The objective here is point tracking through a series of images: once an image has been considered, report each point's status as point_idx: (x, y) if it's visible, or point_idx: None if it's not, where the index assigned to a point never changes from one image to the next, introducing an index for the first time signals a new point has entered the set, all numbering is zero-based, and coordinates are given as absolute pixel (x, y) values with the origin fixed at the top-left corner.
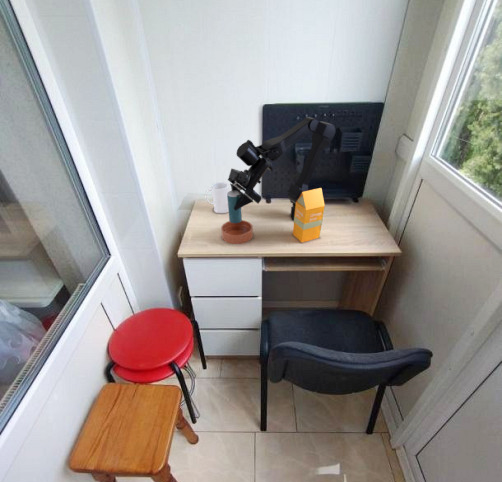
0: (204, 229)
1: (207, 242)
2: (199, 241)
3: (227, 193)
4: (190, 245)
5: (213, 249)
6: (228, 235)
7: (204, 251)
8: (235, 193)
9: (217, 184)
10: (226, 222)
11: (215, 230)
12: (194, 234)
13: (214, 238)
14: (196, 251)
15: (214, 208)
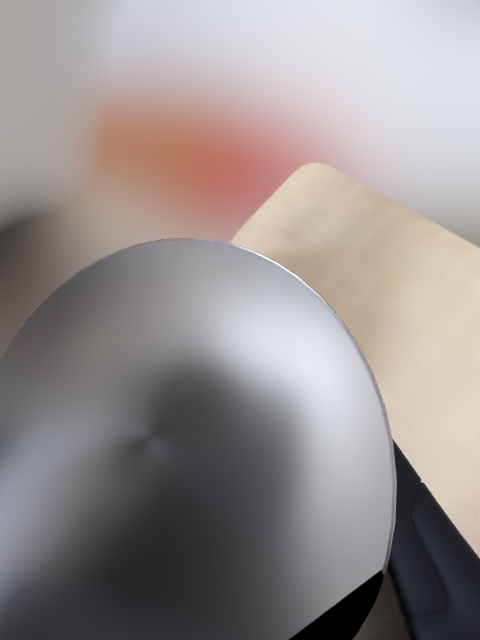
0: (432, 300)
1: (308, 251)
2: (339, 230)
3: (272, 263)
4: (335, 190)
5: (246, 244)
6: None
7: (259, 213)
8: (80, 453)
9: None
10: None
11: (383, 337)
12: (414, 239)
13: (316, 291)
14: (280, 191)
15: None
